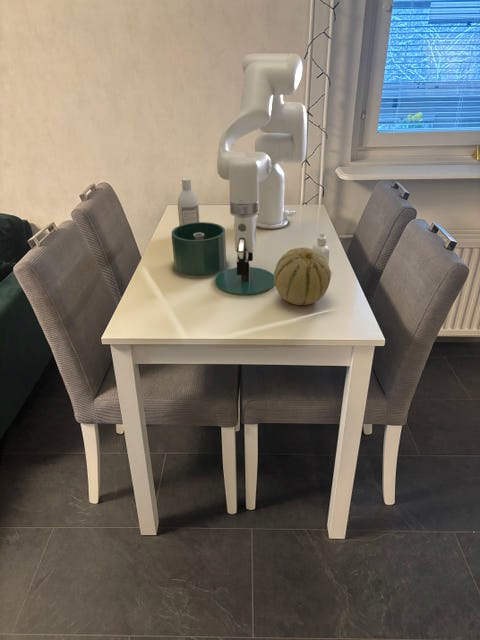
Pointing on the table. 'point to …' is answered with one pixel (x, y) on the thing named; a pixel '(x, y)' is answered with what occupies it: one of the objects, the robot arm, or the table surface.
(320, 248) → the eye dropper bottle
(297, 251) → the cantaloupe
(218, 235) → the tin
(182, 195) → the bath foam
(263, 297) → the table surface
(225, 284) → the tin lid
